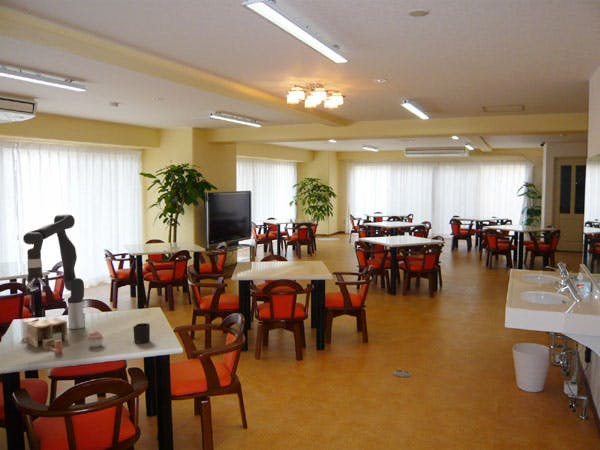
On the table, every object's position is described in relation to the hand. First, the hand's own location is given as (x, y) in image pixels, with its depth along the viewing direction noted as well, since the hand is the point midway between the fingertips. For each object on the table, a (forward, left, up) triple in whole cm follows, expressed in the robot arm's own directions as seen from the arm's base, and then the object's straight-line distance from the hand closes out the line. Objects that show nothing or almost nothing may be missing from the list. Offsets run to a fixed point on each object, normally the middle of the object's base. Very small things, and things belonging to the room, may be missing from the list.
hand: (36, 293), depth 312 cm
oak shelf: (-5, +1, -30) cm, 31 cm away
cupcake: (-21, +31, -30) cm, 48 cm away
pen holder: (-44, +43, -30) cm, 69 cm away
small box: (-2, -18, -30) cm, 35 cm away
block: (-9, +3, -30) cm, 32 cm away
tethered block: (-1, +21, -30) cm, 37 cm away
